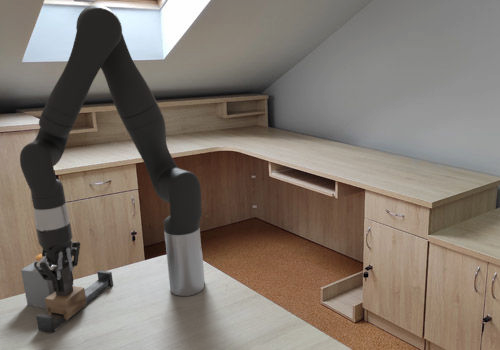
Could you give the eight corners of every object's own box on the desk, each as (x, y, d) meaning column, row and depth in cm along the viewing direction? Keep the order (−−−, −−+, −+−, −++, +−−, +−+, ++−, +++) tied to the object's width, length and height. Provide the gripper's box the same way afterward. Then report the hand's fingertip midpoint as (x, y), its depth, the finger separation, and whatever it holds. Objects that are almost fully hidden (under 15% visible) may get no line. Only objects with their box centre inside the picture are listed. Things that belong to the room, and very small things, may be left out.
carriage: (67, 302, 123) (60, 259, 120) (86, 305, 121) (80, 262, 118) (48, 316, 116) (40, 272, 113) (68, 320, 114) (60, 275, 111)
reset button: (45, 271, 127) (42, 252, 126) (56, 272, 126) (53, 253, 124) (35, 277, 124) (32, 258, 122) (47, 279, 123) (43, 259, 121)
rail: (101, 283, 134) (99, 270, 133) (113, 284, 133) (111, 271, 132) (38, 330, 112) (35, 315, 111) (52, 333, 111) (49, 318, 110)
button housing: (49, 289, 132) (43, 256, 129) (74, 293, 129) (69, 260, 126) (27, 304, 124) (20, 269, 122) (53, 309, 121) (47, 273, 119)
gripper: (60, 212, 120) (71, 274, 125) (17, 232, 107) (30, 301, 112) (85, 214, 117) (94, 277, 122) (43, 235, 105) (56, 305, 109)
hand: (64, 288), depth 117 cm, fingers closed on carriage, 3 cm apart
